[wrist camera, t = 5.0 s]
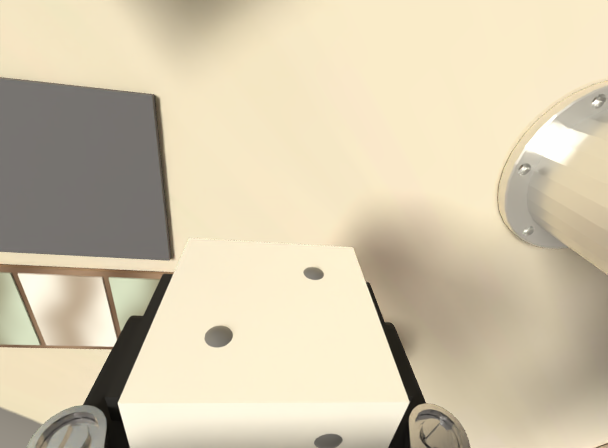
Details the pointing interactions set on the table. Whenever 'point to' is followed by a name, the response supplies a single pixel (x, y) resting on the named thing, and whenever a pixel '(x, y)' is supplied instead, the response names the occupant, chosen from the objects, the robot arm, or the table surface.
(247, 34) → the table surface
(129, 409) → the die
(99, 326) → the track
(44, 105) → the mat
